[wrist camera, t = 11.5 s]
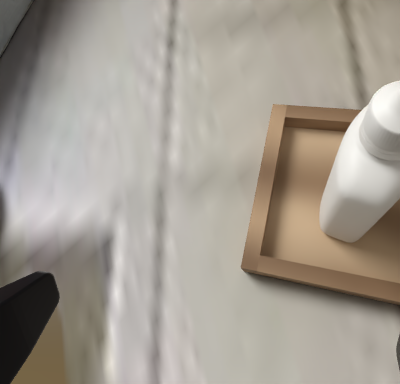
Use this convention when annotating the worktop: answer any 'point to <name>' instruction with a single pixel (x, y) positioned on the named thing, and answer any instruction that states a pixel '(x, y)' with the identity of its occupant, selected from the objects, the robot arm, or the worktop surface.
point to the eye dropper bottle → (365, 169)
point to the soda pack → (11, 19)
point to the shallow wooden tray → (315, 212)
